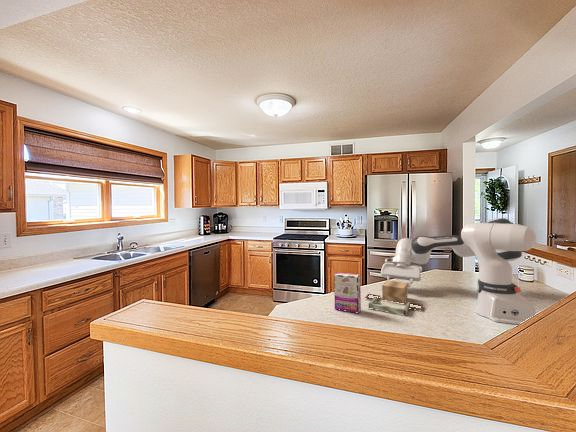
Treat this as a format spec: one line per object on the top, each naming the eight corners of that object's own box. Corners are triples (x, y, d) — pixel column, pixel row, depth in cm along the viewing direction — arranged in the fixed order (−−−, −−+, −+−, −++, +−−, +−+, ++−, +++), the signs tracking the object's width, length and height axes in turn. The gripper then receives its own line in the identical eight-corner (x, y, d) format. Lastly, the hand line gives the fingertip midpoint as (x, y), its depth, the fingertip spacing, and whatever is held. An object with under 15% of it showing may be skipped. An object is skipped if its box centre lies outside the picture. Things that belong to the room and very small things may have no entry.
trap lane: (423, 304, 128) (423, 299, 128) (418, 318, 114) (418, 312, 114) (368, 295, 142) (368, 291, 142) (357, 307, 128) (357, 301, 127)
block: (407, 298, 138) (407, 283, 137) (404, 305, 129) (404, 288, 129) (387, 295, 143) (386, 280, 143) (382, 301, 135) (382, 285, 134)
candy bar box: (361, 309, 124) (360, 274, 123) (358, 313, 120) (358, 277, 119) (337, 306, 129) (337, 272, 129) (334, 309, 125) (333, 274, 124)
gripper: (423, 268, 148) (420, 291, 141) (384, 264, 159) (380, 285, 152) (422, 262, 144) (419, 285, 137) (382, 258, 155) (378, 279, 148)
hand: (398, 285), depth 144 cm, fingers open, 8 cm apart
